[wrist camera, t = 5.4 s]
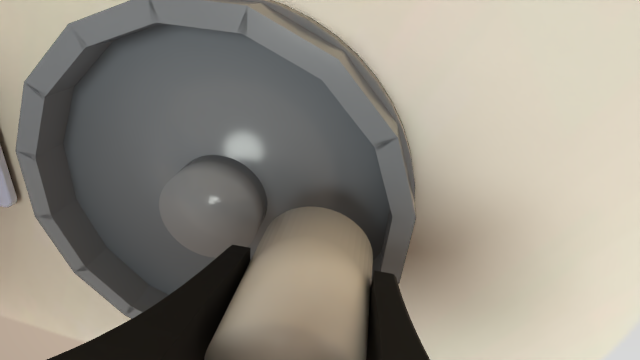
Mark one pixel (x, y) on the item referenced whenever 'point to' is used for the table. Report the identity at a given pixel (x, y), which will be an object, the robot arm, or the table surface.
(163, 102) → the groove tray
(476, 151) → the table surface
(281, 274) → the cream bead
